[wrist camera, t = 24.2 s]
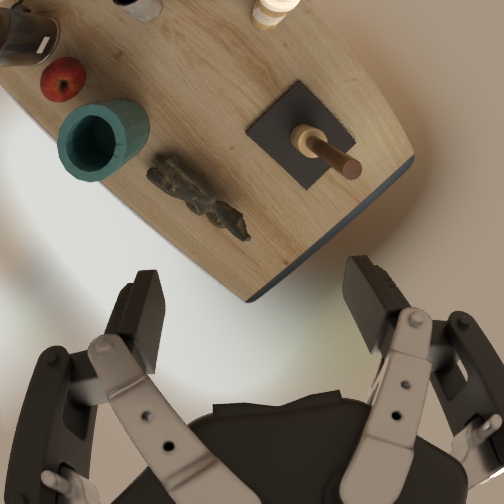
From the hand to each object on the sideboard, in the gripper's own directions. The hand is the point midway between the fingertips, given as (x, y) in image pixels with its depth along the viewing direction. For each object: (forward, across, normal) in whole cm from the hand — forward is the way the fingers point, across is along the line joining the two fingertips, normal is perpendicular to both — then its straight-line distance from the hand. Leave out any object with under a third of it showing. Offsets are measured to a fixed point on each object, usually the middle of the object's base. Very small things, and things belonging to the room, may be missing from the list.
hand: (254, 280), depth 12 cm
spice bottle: (+36, -6, -20) cm, 42 cm away
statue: (+36, +5, +9) cm, 38 cm away
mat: (+36, -11, 0) cm, 38 cm away
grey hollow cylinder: (+36, +12, -23) cm, 45 cm away
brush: (+36, -11, 0) cm, 37 cm away
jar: (+36, +18, -4) cm, 40 cm away
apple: (+36, +26, -14) cm, 47 cm away
